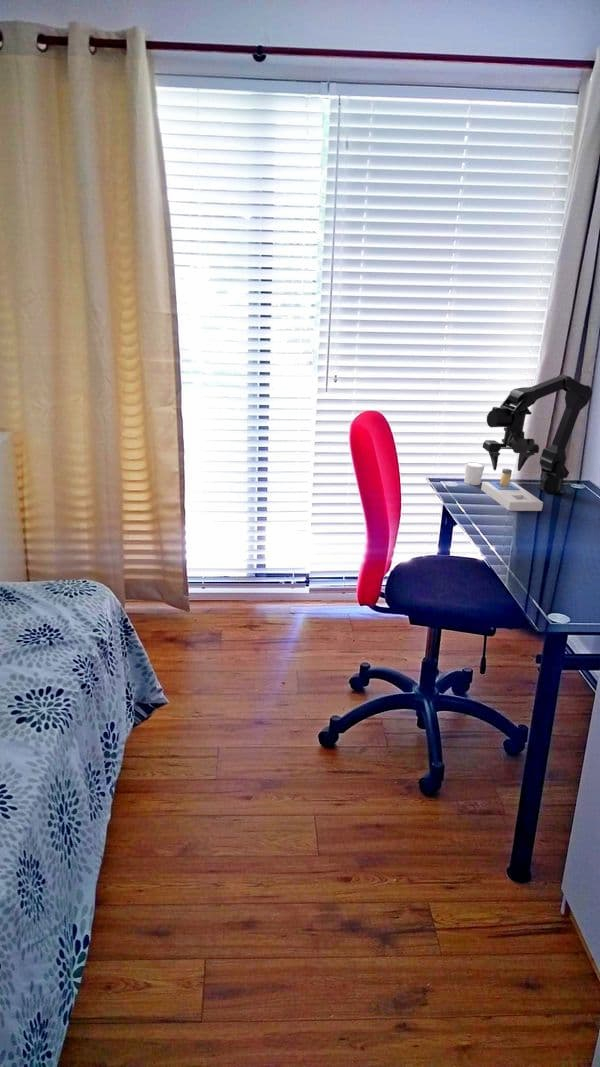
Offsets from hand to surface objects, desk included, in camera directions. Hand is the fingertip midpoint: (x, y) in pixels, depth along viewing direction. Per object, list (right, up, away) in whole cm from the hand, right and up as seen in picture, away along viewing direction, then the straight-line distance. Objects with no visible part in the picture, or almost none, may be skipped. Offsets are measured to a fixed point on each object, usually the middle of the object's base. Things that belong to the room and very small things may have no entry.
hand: (506, 470), depth 272 cm
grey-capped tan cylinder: (-1, -8, +3) cm, 9 cm away
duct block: (+1, -10, -2) cm, 11 cm away
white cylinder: (-9, -4, +14) cm, 17 cm away
